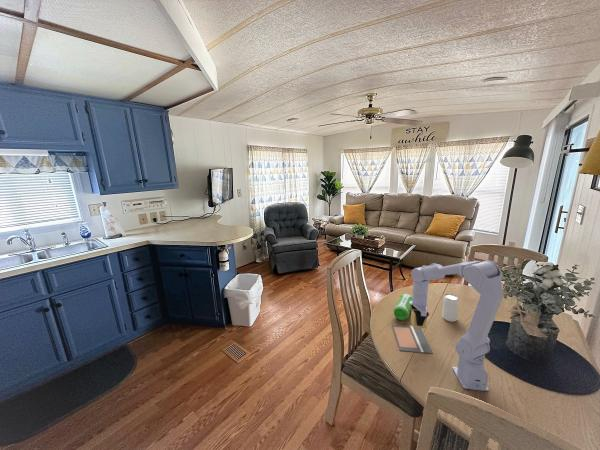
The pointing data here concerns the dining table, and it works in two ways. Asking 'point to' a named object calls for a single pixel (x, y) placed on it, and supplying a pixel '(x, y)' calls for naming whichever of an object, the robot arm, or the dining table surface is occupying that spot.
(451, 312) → the can
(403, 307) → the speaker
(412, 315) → the block
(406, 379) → the dining table surface
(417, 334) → the mat
